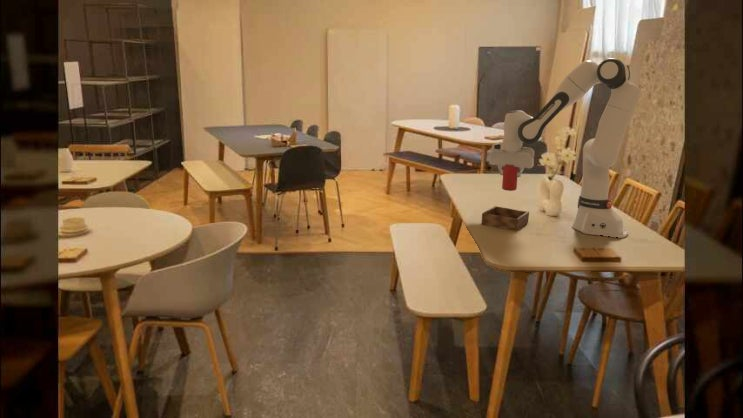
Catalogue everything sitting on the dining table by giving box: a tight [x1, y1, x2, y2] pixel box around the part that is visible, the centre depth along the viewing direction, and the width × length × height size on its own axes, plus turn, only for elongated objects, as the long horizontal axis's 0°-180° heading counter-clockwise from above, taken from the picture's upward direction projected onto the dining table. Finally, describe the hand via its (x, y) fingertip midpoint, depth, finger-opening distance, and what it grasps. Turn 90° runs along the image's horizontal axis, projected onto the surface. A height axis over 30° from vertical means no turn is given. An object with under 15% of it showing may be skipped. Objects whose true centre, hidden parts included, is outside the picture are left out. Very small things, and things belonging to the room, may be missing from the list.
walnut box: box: [481, 205, 530, 232], centre depth 252 cm, size 16×16×5 cm
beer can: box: [501, 164, 519, 192], centre depth 264 cm, size 7×7×12 cm
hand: (510, 175), depth 264 cm, fingers closed on beer can, 7 cm apart
